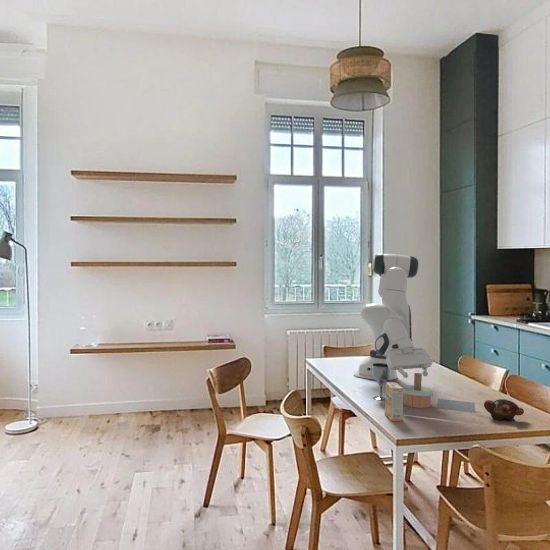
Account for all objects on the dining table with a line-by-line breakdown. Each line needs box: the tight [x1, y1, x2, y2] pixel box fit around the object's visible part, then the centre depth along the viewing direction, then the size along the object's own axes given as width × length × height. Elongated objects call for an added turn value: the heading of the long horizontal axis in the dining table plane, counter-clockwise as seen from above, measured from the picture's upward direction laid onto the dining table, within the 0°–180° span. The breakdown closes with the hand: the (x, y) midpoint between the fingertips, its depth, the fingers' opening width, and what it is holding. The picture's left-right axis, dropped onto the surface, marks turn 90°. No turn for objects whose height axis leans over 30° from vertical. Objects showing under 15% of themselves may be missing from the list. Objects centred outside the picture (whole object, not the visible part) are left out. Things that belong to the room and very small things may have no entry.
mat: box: [436, 398, 476, 413], centre depth 210 cm, size 15×15×1 cm
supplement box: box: [384, 382, 404, 422], centre depth 192 cm, size 8×5×13 cm, turn 5°
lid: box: [402, 372, 435, 397], centre depth 210 cm, size 13×13×8 cm
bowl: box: [403, 393, 432, 409], centre depth 210 cm, size 11×11×6 cm
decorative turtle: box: [483, 398, 525, 422], centre depth 193 cm, size 10×15×8 cm, turn 94°
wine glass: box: [372, 363, 391, 402], centre depth 220 cm, size 8×8×15 cm
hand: (416, 376), depth 209 cm, fingers open, 8 cm apart
